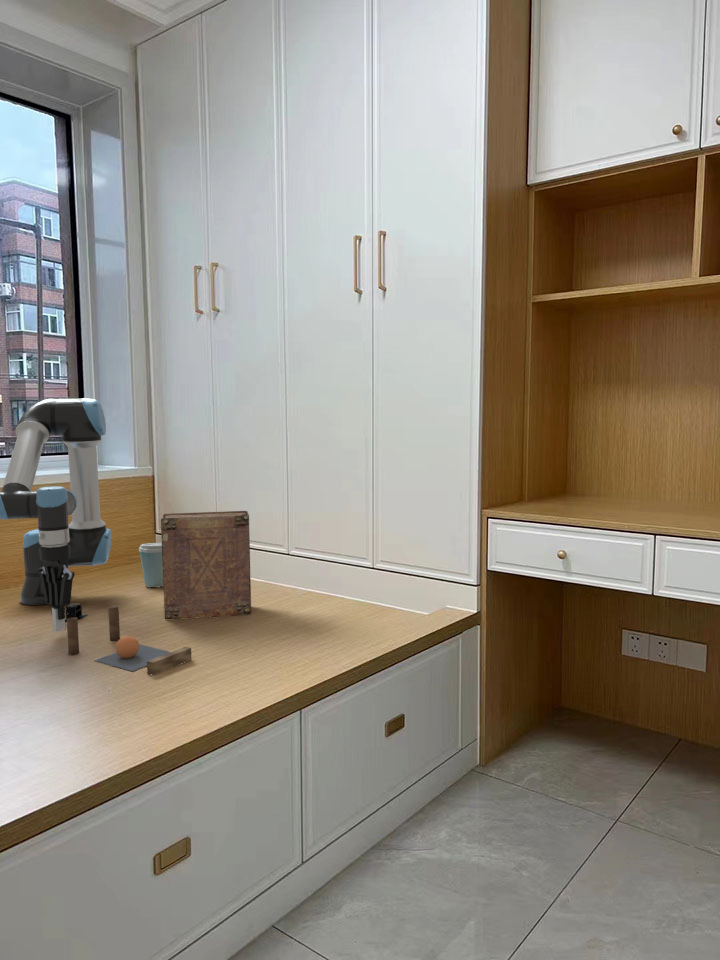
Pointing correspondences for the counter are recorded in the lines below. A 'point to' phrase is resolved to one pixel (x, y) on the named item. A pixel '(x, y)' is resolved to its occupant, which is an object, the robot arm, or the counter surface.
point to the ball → (127, 647)
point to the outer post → (72, 636)
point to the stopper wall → (168, 660)
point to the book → (206, 564)
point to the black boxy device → (74, 611)
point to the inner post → (114, 623)
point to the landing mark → (133, 658)
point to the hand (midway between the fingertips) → (59, 630)
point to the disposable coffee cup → (152, 564)
